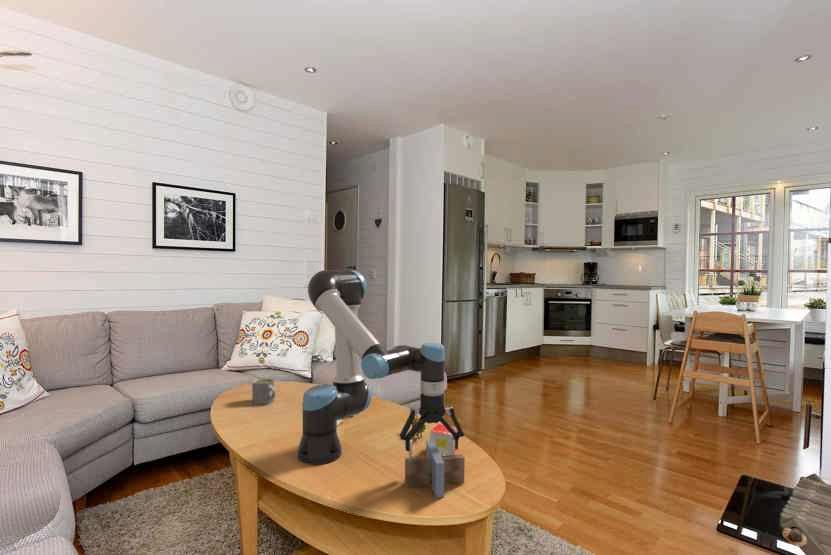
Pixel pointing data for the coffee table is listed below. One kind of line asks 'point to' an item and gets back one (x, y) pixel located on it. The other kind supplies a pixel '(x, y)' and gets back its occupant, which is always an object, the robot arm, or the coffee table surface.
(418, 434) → the figurine
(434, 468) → the grey slotted plate
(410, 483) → the walnut slotted upright
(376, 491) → the coffee table surface
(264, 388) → the coffee mug
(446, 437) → the red patterned cube
